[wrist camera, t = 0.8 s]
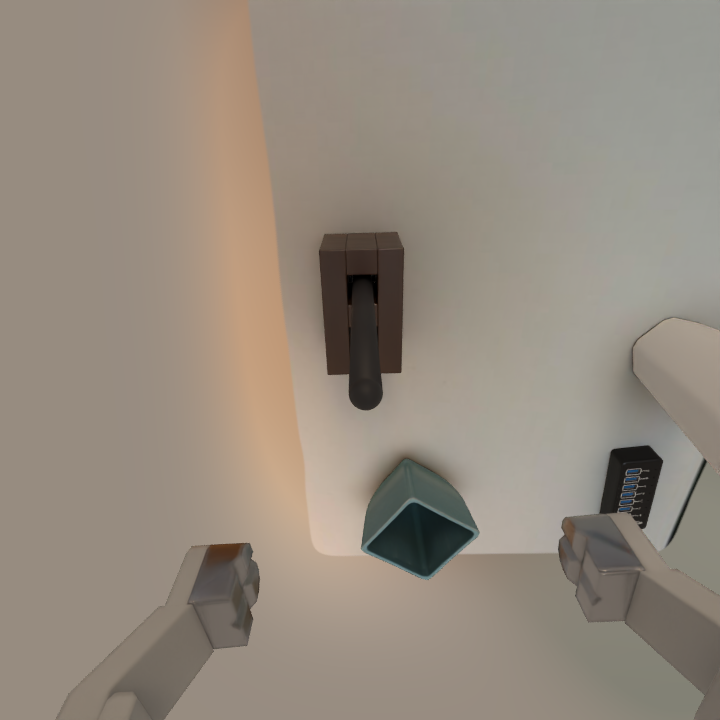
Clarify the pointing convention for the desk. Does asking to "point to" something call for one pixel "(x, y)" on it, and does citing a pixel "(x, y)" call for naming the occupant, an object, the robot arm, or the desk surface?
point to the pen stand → (387, 264)
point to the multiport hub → (631, 482)
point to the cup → (685, 379)
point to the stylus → (364, 347)
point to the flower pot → (417, 521)
